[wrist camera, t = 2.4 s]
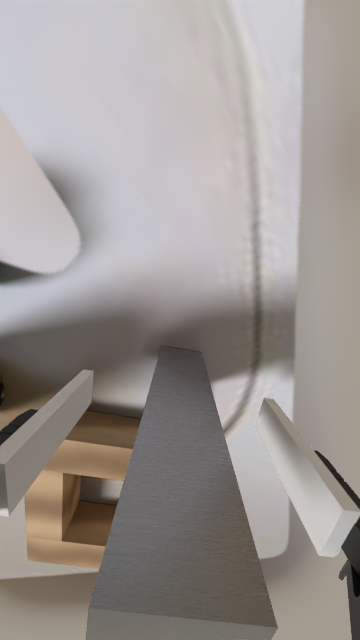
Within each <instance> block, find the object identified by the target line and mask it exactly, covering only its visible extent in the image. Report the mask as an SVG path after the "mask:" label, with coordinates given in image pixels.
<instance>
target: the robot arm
mask: <svg viewBox="0 0 360 640" xmlns="http://www.w3.org/2000/svg"><path fill="white" fill-rule="evenodd" d="M93 374H94V371H91V370H85V369H83V370H82V371H81V372H80V373H79V374H78V375H77V376H76V377H74V378H73V379H72V380H71V381H70V382H69V383H68V384H67V385H66V386H65V387H64V388H62V389H61V390H60V391H59V392H58V393H57V394H56V395H55V396H54V397H53V398H52V399H51V400H49V401H48V402H47V403H46V404H45V405H44V406H43V407H42V408H41V409H40V410H34V409H30V410H28V411H26V412H24V413H23V414H21V415H19V416H18V417H16V418H15V419H14V420H13V421H12V422H10V423H9V424H8V426H6V427H4V428H3V429H2V430H1V431H0V515H1V516H10V514H11V513H12V511H13V510H14V509H15V507H16V506H17V504H18V503H19V502H20V500H21V499H22V498H23V496H24V495H25V493H26V492H27V491H28V489H29V488H30V487H31V485H32V484H33V482H34V481H35V480H36V478H37V477H38V476H39V474H40V473H41V471H42V470H43V469H44V467H45V466H46V465H47V463H48V462H49V460H50V459H51V458H52V456H53V455H54V454H55V452H56V451H57V449H58V448H59V447H60V445H61V444H62V443H63V441H64V440H65V438H66V437H67V436H68V434H69V433H70V431H71V430H72V429H73V427H74V426H75V425H76V423H77V422H78V420H79V419H80V418H81V416H82V415H83V414H84V412H85V411H86V409H87V408H88V407H89V405H90V404H91V403H92V389H93ZM255 429H256V431H257V433H258V435H259V437H260V439H261V441H262V443H263V445H264V447H265V449H266V451H267V453H268V455H269V457H270V459H271V461H272V463H273V465H274V467H275V469H276V471H277V473H278V475H279V477H280V479H281V481H282V483H283V485H284V487H285V489H286V491H287V493H288V495H289V497H290V499H291V501H292V503H293V505H294V507H295V508H296V510H297V513H298V514H299V517H300V519H301V521H302V523H303V524H304V526H305V529H306V531H307V533H308V535H309V537H310V538H311V541H312V542H313V544H314V546H315V548H316V550H317V552H318V555H320V556H328V557H336V556H337V554H338V553H339V551H340V549H341V548H342V550H343V551H344V553H345V554H346V556H347V558H348V560H347V561H346V563H345V565H344V567H343V568H342V570H341V571H340V574H339V578H340V579H341V580H343V579H344V577H345V576H346V575H347V587H348V598H349V610H350V622H351V634H352V640H360V499H359V498H358V496H357V495H356V494H355V493H354V491H353V490H352V489H351V488H350V487H349V485H348V484H347V483H346V482H344V479H343V478H342V477H341V475H340V474H339V473H337V471H336V469H335V468H334V467H333V466H332V465H331V463H330V462H329V461H328V460H327V459H326V458H325V457H324V456H323V455H322V454H320V453H319V452H318V451H314V450H313V449H312V448H311V446H310V445H309V444H308V443H307V441H306V440H305V439H304V438H303V436H302V435H301V434H300V432H299V431H298V430H297V429H296V427H295V426H294V425H293V423H292V422H291V421H290V420H289V418H288V417H287V416H286V414H285V413H284V412H283V411H282V409H281V408H280V407H279V405H278V404H277V403H276V402H275V400H274V399H269V398H264V400H263V403H262V406H261V409H260V412H259V415H258V418H257V421H256V424H255Z"/></svg>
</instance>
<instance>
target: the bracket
mask: <svg viewBox="0 0 360 640" xmlns="http://www.w3.org/2000/svg"><path fill="white" fill-rule="evenodd" d="M87 621H88V622H87V632H86V640H271V639H272V637H273V635H274V634H275V632H276V630H277V628H278V627H277V624H276V620H275V616H274V612H273V609H272V605H271V602H270V599H269V594H268V591H267V587H266V584H265V580H264V576H263V573H262V569H261V566H260V562H259V559H258V555H257V551H256V548H255V544H254V541H253V537H252V533H251V530H250V526H249V523H248V519H247V515H246V512H245V508H244V505H243V501H242V497H241V494H240V490H239V487H238V483H237V479H236V476H235V472H234V469H233V465H232V461H231V458H230V454H229V451H228V447H227V444H226V440H225V436H224V433H223V429H222V426H221V422H220V418H219V415H218V411H217V408H216V404H215V400H214V397H213V393H212V390H211V386H210V382H209V379H208V375H207V372H206V368H205V364H204V361H203V357H202V354H201V352H197V351H191V350H184V349H178V348H172V347H166V346H162V347H161V350H160V354H159V357H158V361H157V364H156V368H155V372H154V375H153V379H152V382H151V386H150V390H149V393H148V397H147V400H146V404H145V407H144V411H143V415H142V418H141V422H140V425H139V429H138V433H137V436H136V440H135V443H134V447H133V450H132V454H131V458H130V461H129V465H128V468H127V472H126V476H125V479H124V483H123V486H122V490H121V493H120V497H119V501H118V504H117V508H116V511H115V515H114V519H113V522H112V526H111V529H110V533H109V536H108V540H107V544H106V547H105V551H104V554H103V558H102V562H101V565H100V569H99V572H98V576H97V580H96V583H95V587H94V590H93V594H92V598H91V601H90V605H89V608H88V620H87Z"/></svg>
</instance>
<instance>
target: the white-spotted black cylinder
mask: <svg viewBox="0 0 360 640" xmlns="http://www.w3.org/2000/svg"><path fill="white" fill-rule="evenodd" d="M3 396H4V390H3V385H2V382H1V379H0V405H1V403H2V401H3Z"/></svg>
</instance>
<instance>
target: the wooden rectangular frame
mask: <svg viewBox="0 0 360 640" xmlns="http://www.w3.org/2000/svg"><path fill="white" fill-rule="evenodd" d="M140 422H141V419H139V418H132V417H125V416H118V415H112V414H105V413H98V412H91V411H85V412H84V414H83V415H82V416H81V418H80V419H79V420H78V422H77V423H76V425H75V426H74V427H73V429H72V430H71V431H70V433H69V434H68V436H67V437H66V438H65V440H64V441H63V443H62V444H61V445H60V447H59V448H58V449H57V451H56V452H55V454H54V455H53V456H52V458H51V459H50V460H49V462H48V463H47V465H46V466H45V467H44V469H43V470H42V471H41V473H40V474H39V476H38V477H37V478H36V480H35V481H34V482H33V484H32V485H31V487H30V488H29V489H28V491H27V492H26V493H25V495H24V497H25V516H26V535H27V553H28V561H37V562H45V563H54V564H63V565H72V566H81V567H90V568H98V569H100V565H101V562H102V558H103V554H104V551H105V547H106V544H107V540H108V536H109V533H110V529H111V526H112V522H113V519H114V515H115V511H116V508H117V506H115V505H107V504H99V503H91V502H84V501H80V488H81V475H84V476H91V477H99V478H106V479H114V480H121V481H124V479H125V476H126V472H127V468H128V465H129V461H130V458H131V454H132V450H133V447H134V443H135V440H136V436H137V433H138V429H139V425H140Z"/></svg>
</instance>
